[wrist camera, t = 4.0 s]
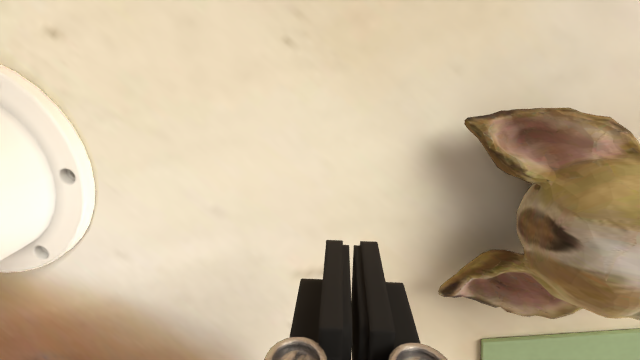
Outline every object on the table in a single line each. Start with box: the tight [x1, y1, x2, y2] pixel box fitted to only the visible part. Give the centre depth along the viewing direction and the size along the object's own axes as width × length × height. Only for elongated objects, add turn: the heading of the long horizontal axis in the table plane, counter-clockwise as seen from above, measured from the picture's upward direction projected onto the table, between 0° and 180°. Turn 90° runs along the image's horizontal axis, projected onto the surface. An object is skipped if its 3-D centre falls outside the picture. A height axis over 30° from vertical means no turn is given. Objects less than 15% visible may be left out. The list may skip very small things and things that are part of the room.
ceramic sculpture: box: [438, 108, 640, 320], centre depth 14 cm, size 11×9×15 cm
